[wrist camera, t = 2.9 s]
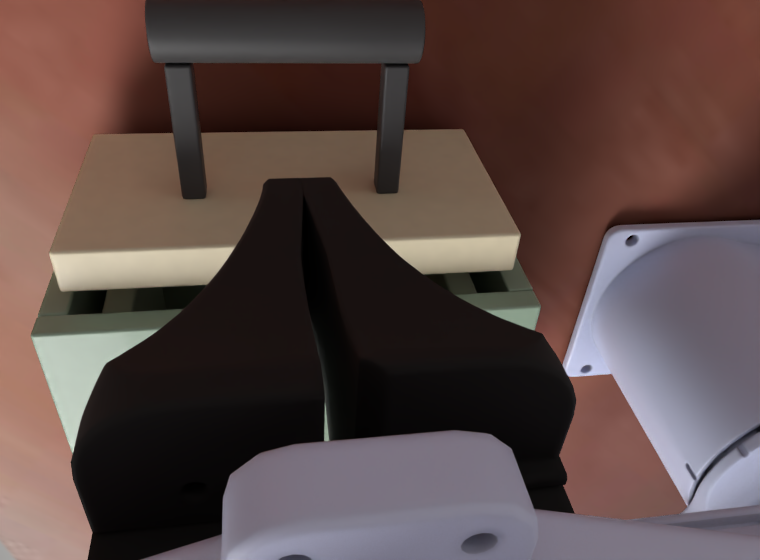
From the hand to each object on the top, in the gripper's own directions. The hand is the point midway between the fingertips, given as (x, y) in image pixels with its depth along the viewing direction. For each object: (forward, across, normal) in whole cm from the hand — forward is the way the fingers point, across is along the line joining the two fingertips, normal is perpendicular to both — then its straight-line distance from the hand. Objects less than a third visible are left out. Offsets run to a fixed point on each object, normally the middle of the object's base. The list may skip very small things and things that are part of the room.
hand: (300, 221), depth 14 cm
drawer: (+8, 0, +6) cm, 9 cm away
